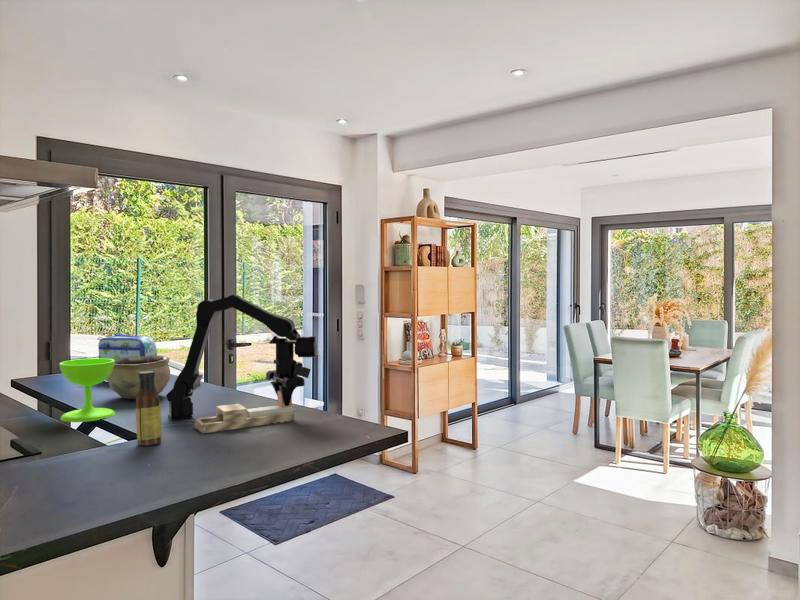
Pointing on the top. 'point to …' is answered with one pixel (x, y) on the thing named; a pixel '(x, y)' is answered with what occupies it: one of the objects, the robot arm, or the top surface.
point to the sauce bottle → (148, 411)
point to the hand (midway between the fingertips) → (284, 404)
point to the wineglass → (87, 386)
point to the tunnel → (236, 419)
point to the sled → (271, 408)
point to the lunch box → (126, 347)
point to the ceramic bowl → (127, 374)
